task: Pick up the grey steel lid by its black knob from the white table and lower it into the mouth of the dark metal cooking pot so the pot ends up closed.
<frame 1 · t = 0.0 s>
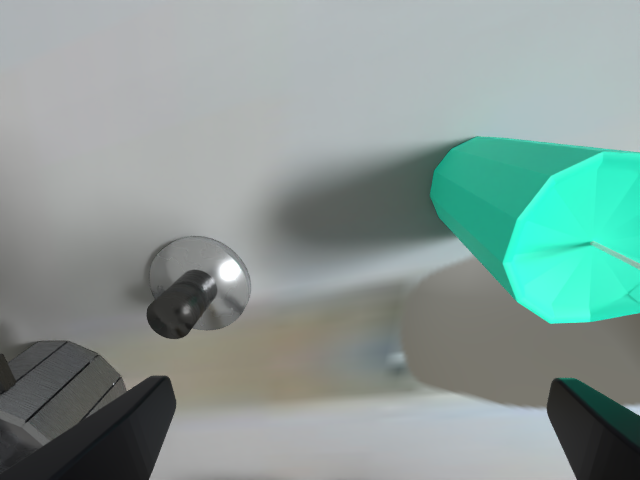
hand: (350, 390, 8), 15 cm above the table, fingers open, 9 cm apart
pot: (72, 388, 29), on the table
candle: (478, 185, 20), on the table
lid: (204, 281, 24), on the table
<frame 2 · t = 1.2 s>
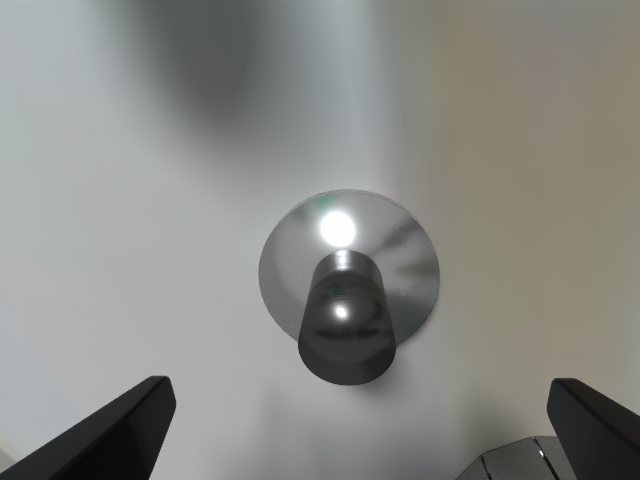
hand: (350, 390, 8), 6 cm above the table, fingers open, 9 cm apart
lid: (347, 271, 14), on the table
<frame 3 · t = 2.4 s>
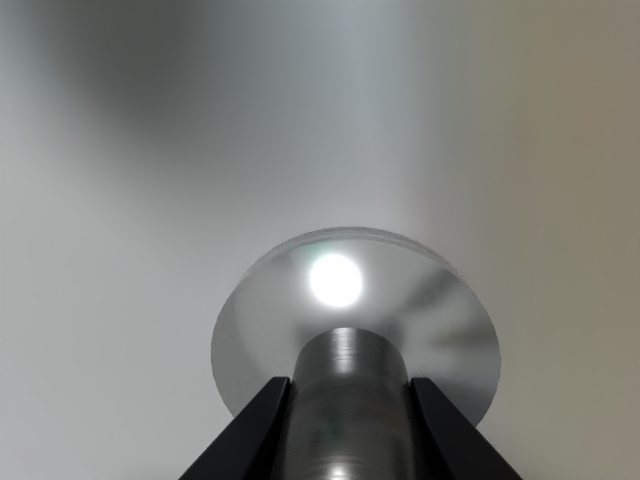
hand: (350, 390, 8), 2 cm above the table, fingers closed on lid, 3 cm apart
lid: (349, 349, 9), on the table, touching gripper
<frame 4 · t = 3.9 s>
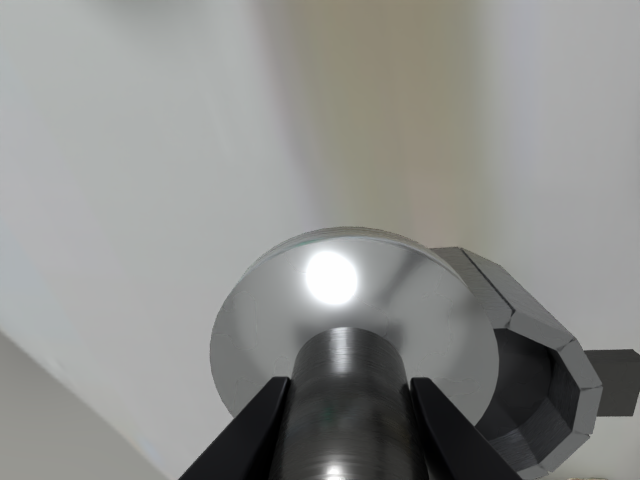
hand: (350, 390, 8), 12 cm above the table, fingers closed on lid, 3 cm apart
pot: (433, 324, 20), on the table
lid: (348, 348, 9), point 10 cm above the table, touching gripper
when the fingers open (8 cm above the table, at t = 5.2 s): lid drops 1 cm, resting on pot.
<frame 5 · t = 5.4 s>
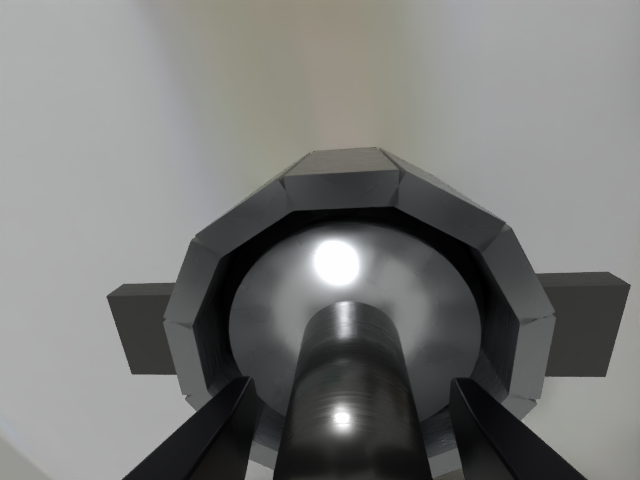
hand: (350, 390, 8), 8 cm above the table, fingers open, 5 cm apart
pot: (349, 262, 15), on the table
lid: (350, 323, 10), point 5 cm above the table, touching pot
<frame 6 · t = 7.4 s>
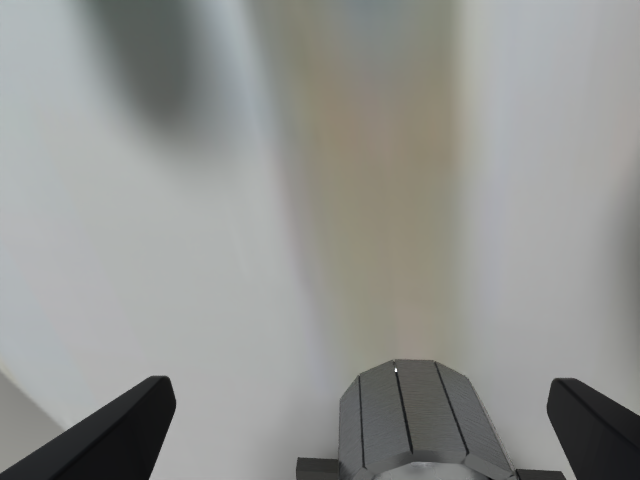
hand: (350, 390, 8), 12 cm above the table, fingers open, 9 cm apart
pot: (409, 416, 24), on the table
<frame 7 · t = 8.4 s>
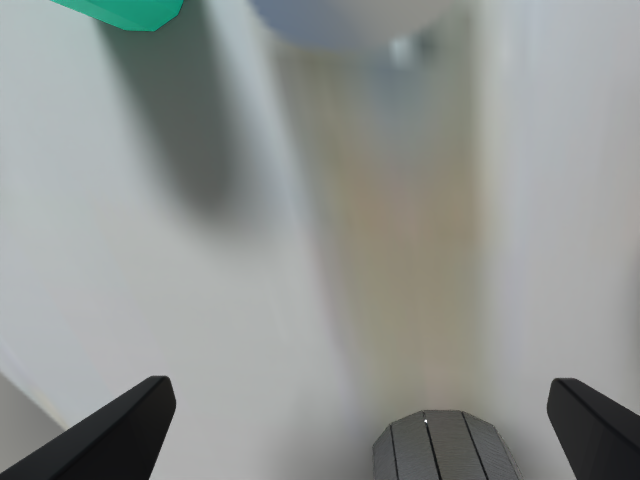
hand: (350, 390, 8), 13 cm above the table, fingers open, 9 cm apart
pot: (438, 460, 25), on the table
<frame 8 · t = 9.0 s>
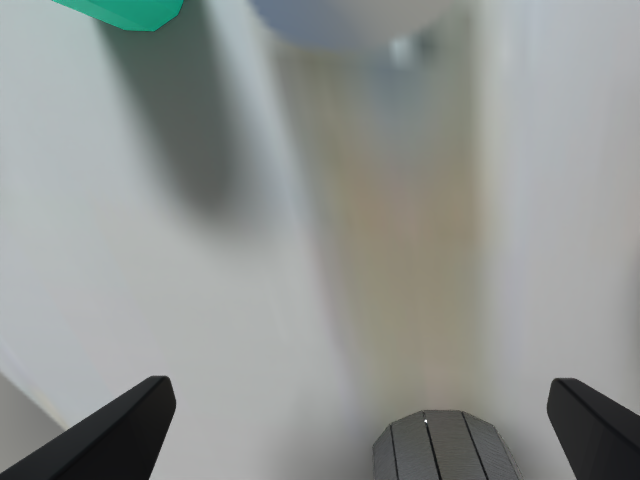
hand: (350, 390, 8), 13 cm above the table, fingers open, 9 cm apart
pot: (438, 460, 25), on the table
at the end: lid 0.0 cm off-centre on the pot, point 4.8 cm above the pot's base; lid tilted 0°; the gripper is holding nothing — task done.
